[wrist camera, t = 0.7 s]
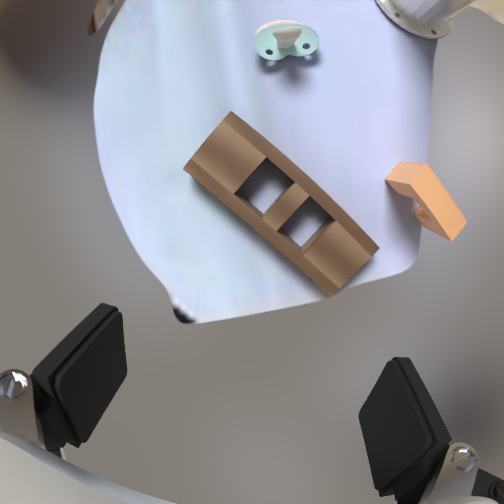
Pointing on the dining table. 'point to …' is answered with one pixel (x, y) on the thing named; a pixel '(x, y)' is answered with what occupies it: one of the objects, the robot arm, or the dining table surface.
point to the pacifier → (285, 39)
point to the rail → (280, 204)
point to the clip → (428, 198)
